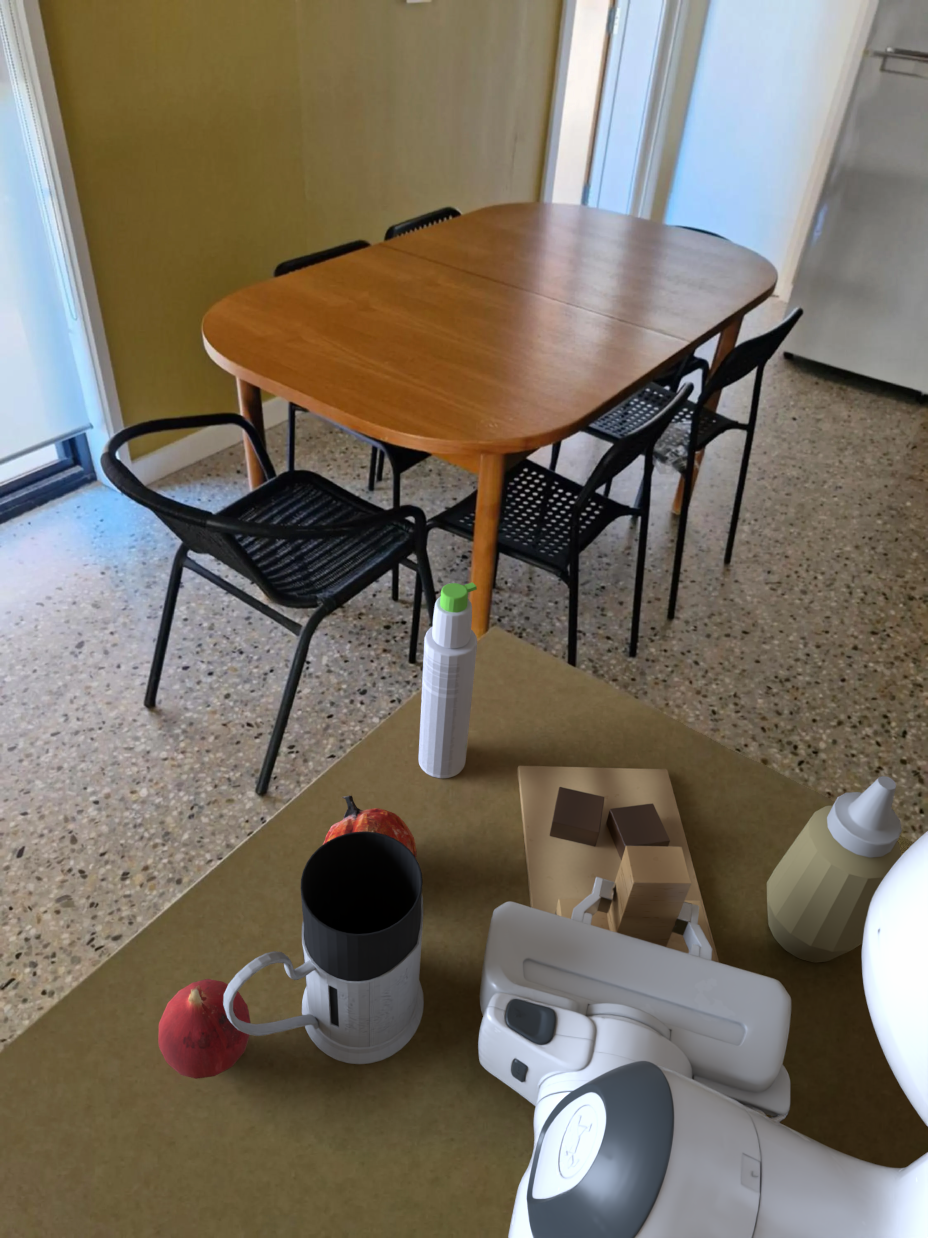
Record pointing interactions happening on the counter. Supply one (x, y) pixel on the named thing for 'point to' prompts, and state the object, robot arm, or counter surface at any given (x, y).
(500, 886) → the counter surface
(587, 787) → the board
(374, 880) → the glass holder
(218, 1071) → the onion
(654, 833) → the dark brown square block
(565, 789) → the chip
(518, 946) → the robot arm
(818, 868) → the squeeze bottle
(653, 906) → the brush
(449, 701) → the bottle
